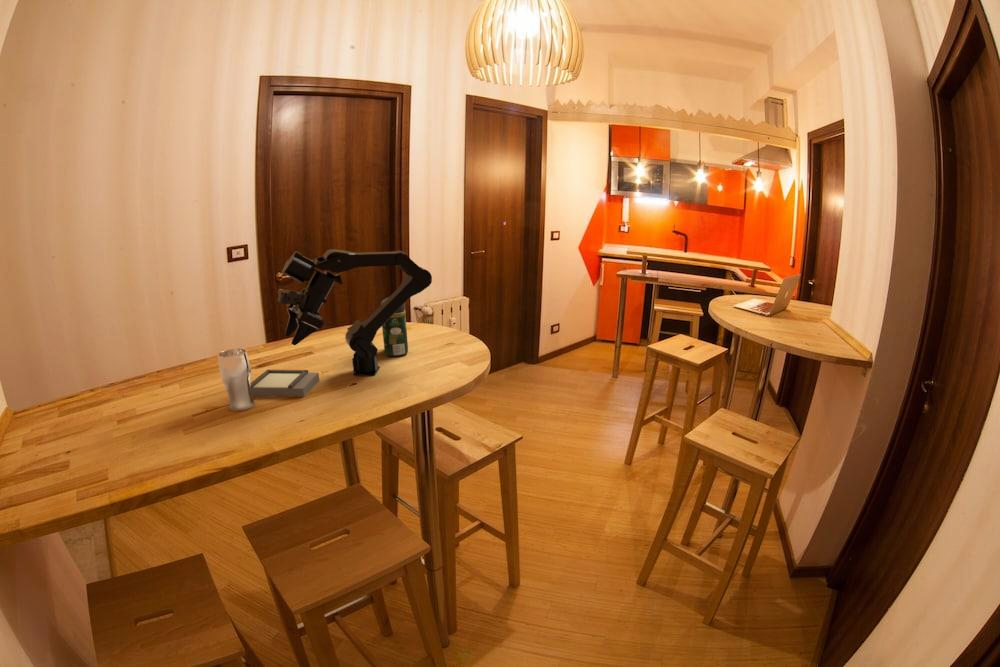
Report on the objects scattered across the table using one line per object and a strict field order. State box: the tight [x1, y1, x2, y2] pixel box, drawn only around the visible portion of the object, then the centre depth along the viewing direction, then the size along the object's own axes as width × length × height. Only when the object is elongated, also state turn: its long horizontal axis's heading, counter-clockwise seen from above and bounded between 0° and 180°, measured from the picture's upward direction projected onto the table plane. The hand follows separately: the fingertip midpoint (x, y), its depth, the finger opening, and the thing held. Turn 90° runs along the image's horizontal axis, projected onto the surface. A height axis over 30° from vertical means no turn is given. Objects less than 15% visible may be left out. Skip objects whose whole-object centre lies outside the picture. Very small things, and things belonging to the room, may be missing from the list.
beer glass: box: [217, 347, 256, 412], centre depth 129 cm, size 7×7×15 cm
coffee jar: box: [380, 296, 409, 357], centre depth 166 cm, size 10×8×19 cm
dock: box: [251, 369, 320, 398], centre depth 142 cm, size 15×11×3 cm
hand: (289, 340), depth 139 cm, fingers open, 9 cm apart
